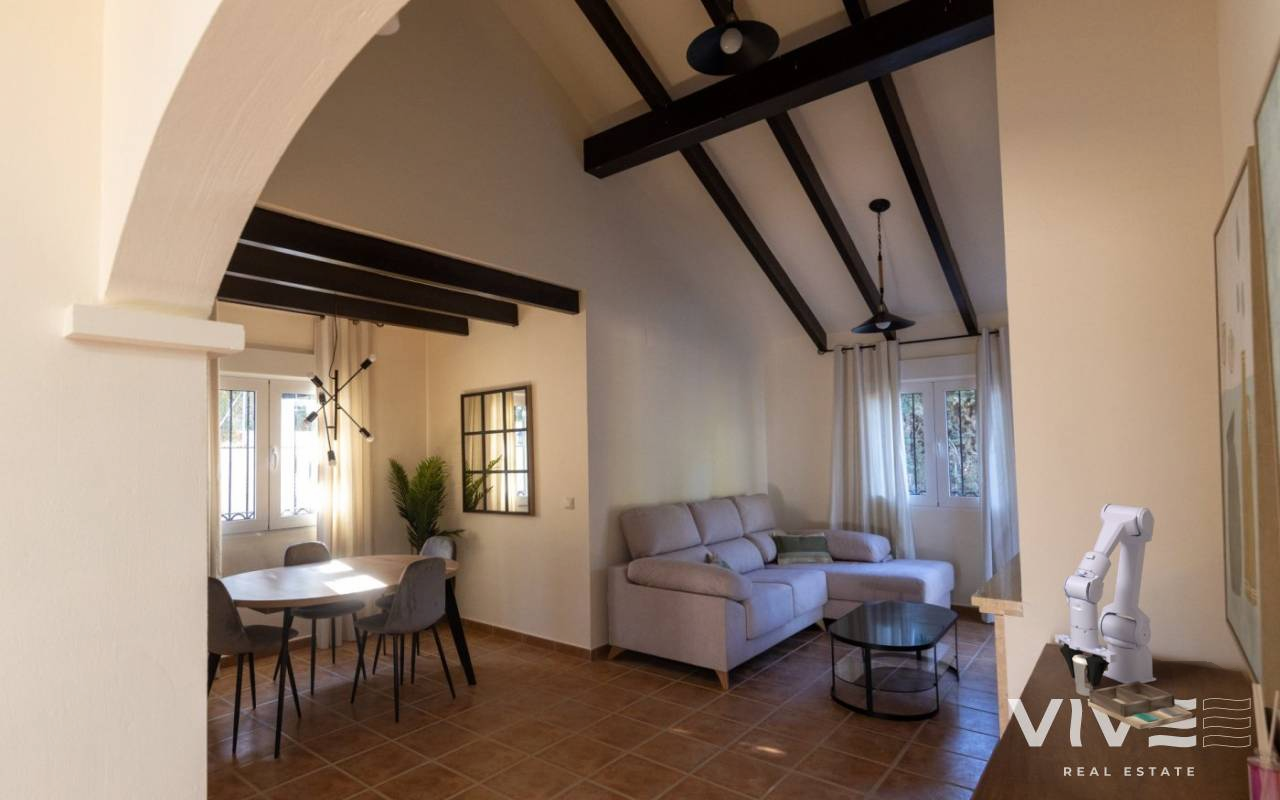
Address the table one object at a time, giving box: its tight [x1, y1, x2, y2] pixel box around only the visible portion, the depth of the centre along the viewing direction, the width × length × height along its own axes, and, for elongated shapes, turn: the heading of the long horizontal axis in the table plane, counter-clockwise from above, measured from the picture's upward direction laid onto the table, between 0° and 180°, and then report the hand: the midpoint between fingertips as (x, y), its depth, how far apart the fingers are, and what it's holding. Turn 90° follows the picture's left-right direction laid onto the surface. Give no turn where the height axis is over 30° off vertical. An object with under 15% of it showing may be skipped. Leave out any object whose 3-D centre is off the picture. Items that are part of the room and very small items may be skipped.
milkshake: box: [1072, 654, 1094, 697], centre depth 161 cm, size 5×5×10 cm
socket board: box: [1087, 681, 1194, 730], centre depth 151 cm, size 16×12×4 cm
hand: (1085, 681), depth 161 cm, fingers closed on milkshake, 4 cm apart
